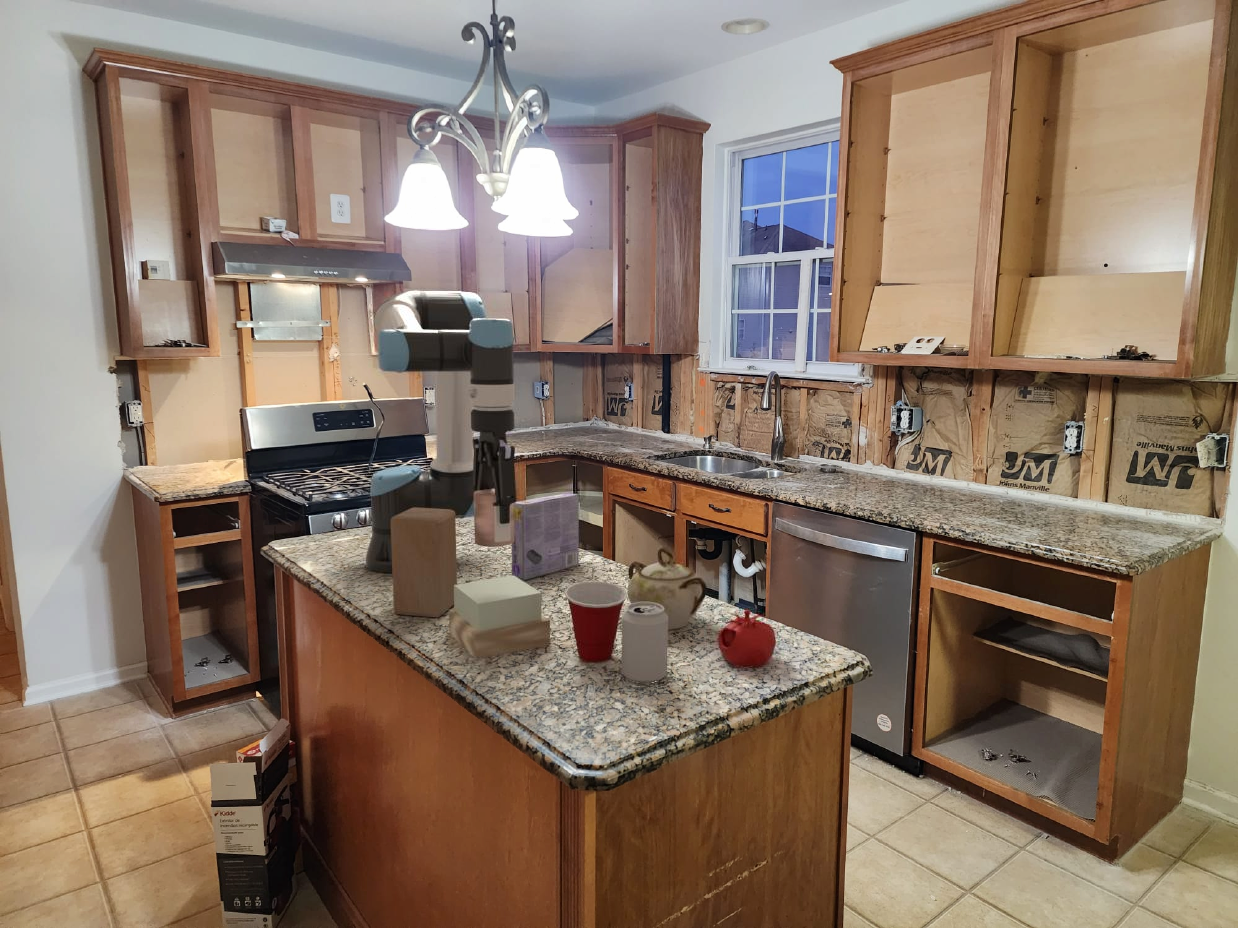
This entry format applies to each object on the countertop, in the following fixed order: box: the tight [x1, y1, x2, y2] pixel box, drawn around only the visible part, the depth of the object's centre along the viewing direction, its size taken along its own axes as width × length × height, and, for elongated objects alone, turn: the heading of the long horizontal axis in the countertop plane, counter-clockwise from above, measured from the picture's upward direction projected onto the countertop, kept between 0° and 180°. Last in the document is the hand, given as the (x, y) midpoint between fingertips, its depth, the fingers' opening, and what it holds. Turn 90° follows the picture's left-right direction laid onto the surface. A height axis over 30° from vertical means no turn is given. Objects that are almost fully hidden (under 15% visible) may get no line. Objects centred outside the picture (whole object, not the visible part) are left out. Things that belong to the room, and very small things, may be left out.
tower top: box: [453, 575, 543, 632], centre depth 147 cm, size 12×12×5 cm
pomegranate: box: [717, 609, 777, 668], centre depth 139 cm, size 10×10×9 cm
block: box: [391, 507, 458, 618], centre depth 162 cm, size 10×10×20 cm
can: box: [621, 602, 669, 684], centre depth 131 cm, size 8×8×12 cm
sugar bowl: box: [626, 547, 708, 631], centre depth 156 cm, size 20×15×15 cm
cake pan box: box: [511, 493, 580, 582], centre depth 189 cm, size 19×5×18 cm, turn 139°
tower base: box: [448, 608, 551, 660], centre depth 148 cm, size 14×14×5 cm
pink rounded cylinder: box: [473, 488, 514, 548], centre depth 144 cm, size 7×7×9 cm
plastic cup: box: [564, 580, 628, 664], centre depth 139 cm, size 11×11×12 cm
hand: (494, 535), depth 144 cm, fingers closed on pink rounded cylinder, 7 cm apart
